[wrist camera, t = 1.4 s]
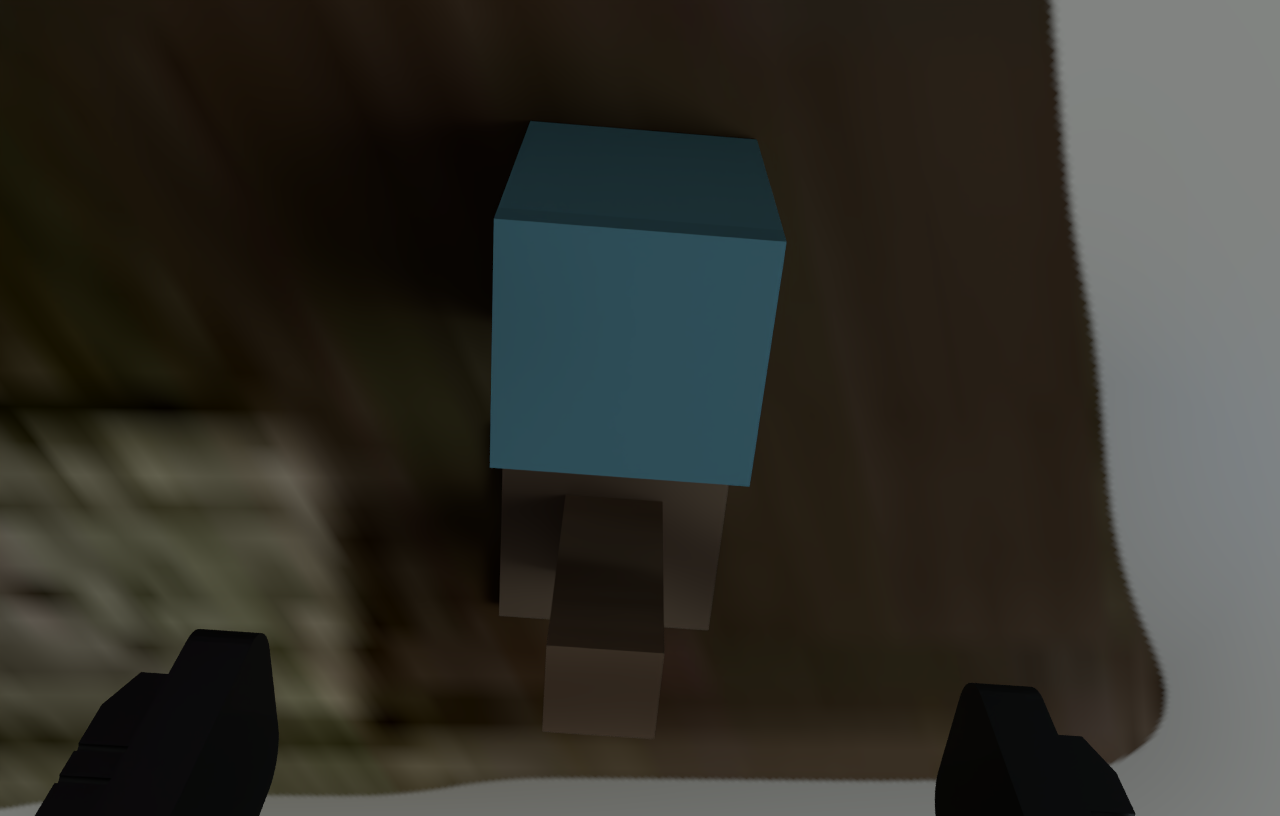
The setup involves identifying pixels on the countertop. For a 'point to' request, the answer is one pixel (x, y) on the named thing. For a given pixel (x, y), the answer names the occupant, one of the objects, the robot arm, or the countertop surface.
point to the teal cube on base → (633, 304)
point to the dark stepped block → (607, 586)
